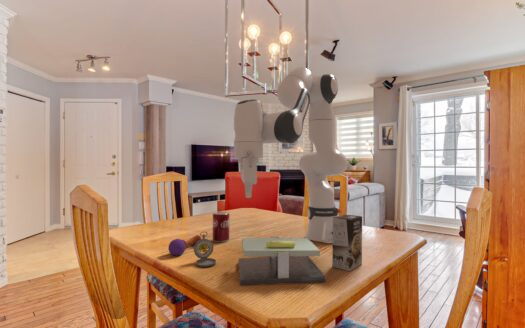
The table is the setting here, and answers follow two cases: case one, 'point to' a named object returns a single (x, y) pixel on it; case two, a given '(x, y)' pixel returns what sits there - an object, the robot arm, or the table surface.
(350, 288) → the table surface
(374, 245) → the table surface
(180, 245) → the kendama
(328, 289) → the table surface
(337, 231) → the coffee box
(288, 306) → the table surface
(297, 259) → the levelling stand
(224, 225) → the soda can
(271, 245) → the tilting platform
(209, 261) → the pocket watch
